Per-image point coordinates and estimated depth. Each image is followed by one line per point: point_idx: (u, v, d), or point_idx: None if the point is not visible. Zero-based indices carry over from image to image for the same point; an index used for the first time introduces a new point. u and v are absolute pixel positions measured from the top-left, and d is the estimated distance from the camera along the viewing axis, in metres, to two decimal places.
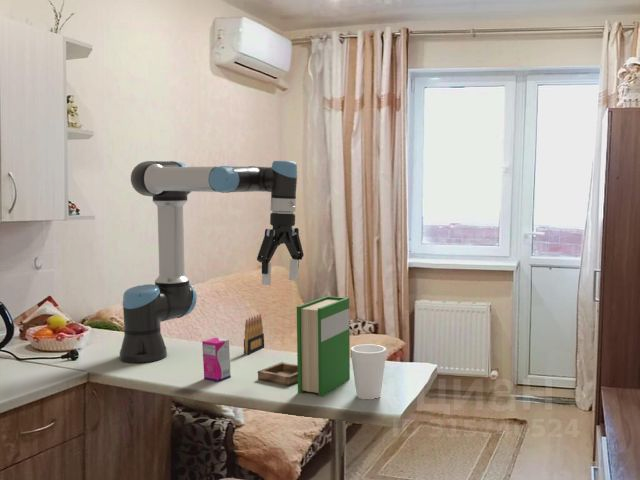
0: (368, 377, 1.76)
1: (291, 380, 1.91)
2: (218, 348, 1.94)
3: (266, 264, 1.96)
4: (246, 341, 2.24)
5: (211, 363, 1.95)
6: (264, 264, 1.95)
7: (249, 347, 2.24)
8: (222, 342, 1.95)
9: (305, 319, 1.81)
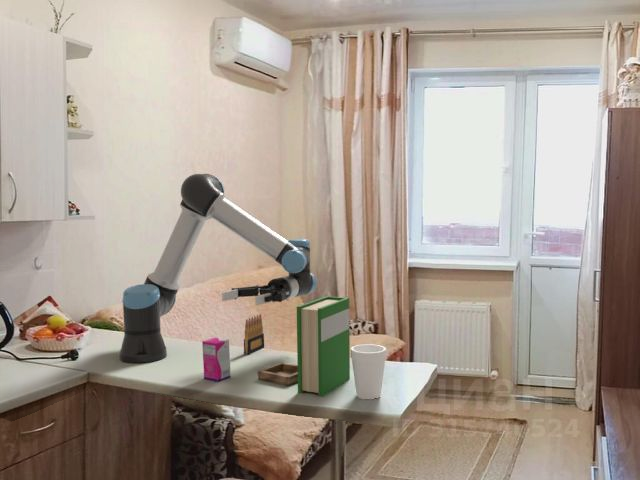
0: (368, 377, 1.76)
1: (291, 380, 1.91)
2: (218, 348, 1.94)
3: None
4: (246, 341, 2.24)
5: (211, 363, 1.95)
6: (273, 299, 2.05)
7: (249, 347, 2.24)
8: (222, 342, 1.95)
9: (305, 319, 1.81)
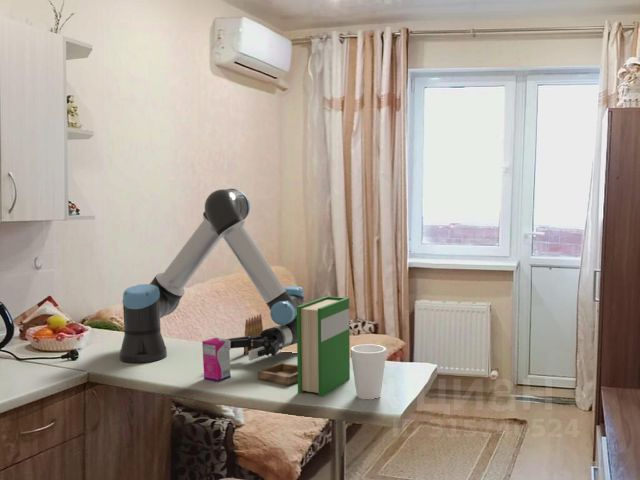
0: (368, 377, 1.76)
1: (291, 380, 1.91)
2: (218, 348, 1.94)
3: None
4: None
5: (211, 363, 1.95)
6: (266, 353, 2.02)
7: None
8: (222, 342, 1.95)
9: (305, 319, 1.81)
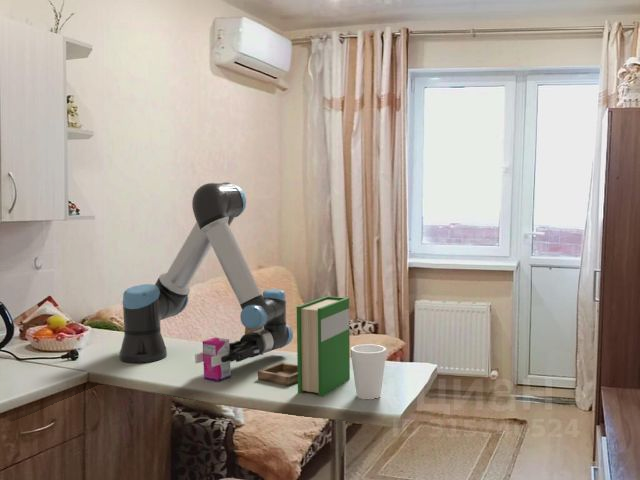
0: (368, 377, 1.76)
1: (291, 380, 1.91)
2: (218, 347, 1.94)
3: None
4: None
5: None
6: (230, 358, 1.96)
7: None
8: (222, 342, 1.95)
9: (305, 319, 1.81)
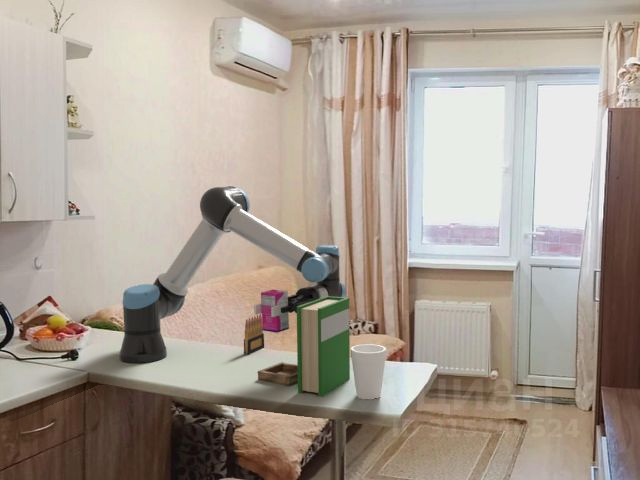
0: (368, 377, 1.76)
1: (291, 380, 1.91)
2: (277, 298, 1.92)
3: None
4: (246, 341, 2.24)
5: (270, 314, 1.93)
6: (290, 310, 1.93)
7: (249, 347, 2.24)
8: (281, 293, 1.93)
9: (305, 319, 1.81)
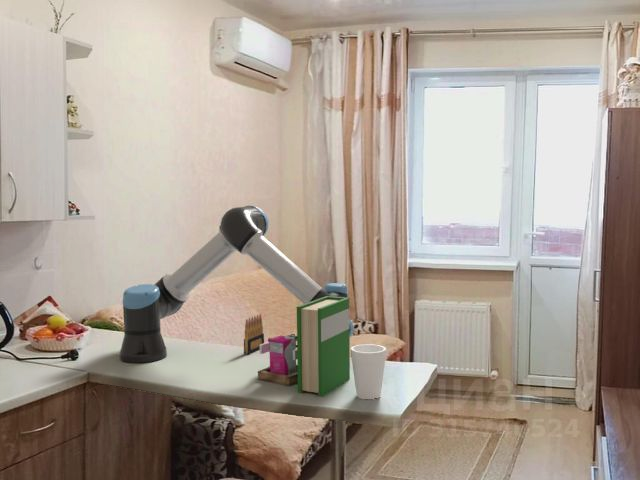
0: (368, 377, 1.76)
1: (291, 380, 1.91)
2: (285, 345, 1.94)
3: None
4: (246, 341, 2.24)
5: (278, 361, 1.94)
6: None
7: (249, 347, 2.24)
8: (289, 340, 1.95)
9: (305, 319, 1.81)
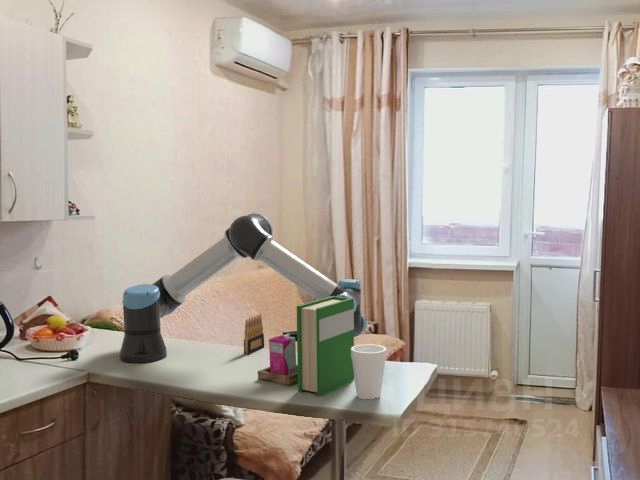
0: (368, 377, 1.76)
1: (291, 380, 1.91)
2: (285, 345, 1.94)
3: None
4: (246, 341, 2.24)
5: (278, 361, 1.94)
6: None
7: (249, 347, 2.24)
8: (289, 340, 1.95)
9: (305, 318, 1.82)
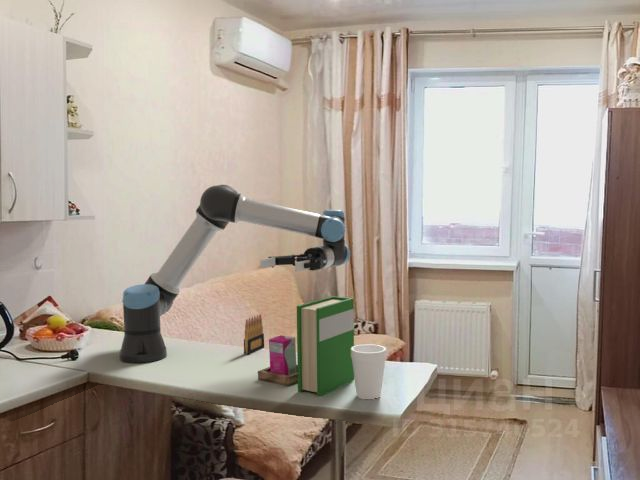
0: (368, 377, 1.76)
1: (291, 380, 1.91)
2: (285, 345, 1.94)
3: (311, 267, 2.06)
4: (246, 341, 2.24)
5: (278, 361, 1.94)
6: (312, 265, 2.06)
7: (249, 347, 2.24)
8: (289, 340, 1.95)
9: (305, 318, 1.82)
